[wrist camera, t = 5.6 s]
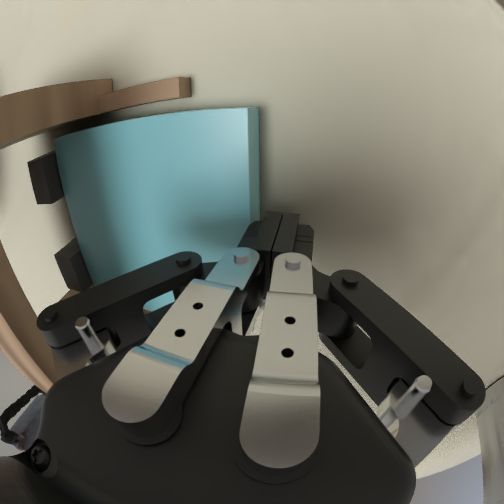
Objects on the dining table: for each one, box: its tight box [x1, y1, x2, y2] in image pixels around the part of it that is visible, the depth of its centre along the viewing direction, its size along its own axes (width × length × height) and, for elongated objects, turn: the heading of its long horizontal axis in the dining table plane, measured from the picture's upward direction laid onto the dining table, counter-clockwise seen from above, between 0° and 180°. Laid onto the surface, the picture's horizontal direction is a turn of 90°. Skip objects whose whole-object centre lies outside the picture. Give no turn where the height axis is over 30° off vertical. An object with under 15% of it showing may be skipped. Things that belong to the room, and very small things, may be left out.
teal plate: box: [53, 107, 260, 331], centre depth 15 cm, size 12×12×2 cm
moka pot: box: [0, 385, 46, 451], centre depth 22 cm, size 10×15×20 cm, turn 1°
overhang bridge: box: [0, 77, 191, 393], centre depth 12 cm, size 14×17×10 cm
